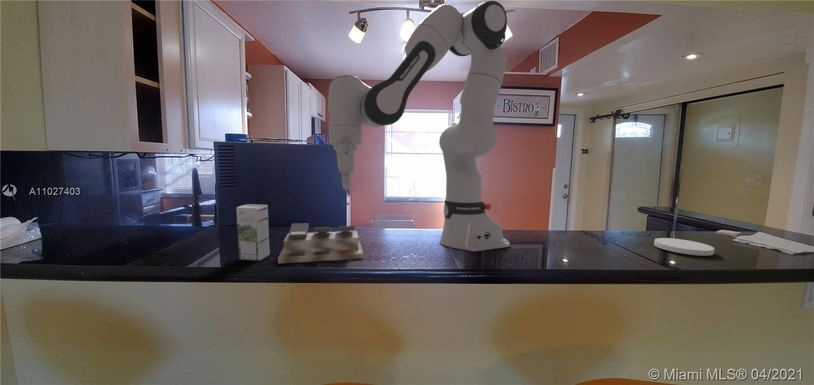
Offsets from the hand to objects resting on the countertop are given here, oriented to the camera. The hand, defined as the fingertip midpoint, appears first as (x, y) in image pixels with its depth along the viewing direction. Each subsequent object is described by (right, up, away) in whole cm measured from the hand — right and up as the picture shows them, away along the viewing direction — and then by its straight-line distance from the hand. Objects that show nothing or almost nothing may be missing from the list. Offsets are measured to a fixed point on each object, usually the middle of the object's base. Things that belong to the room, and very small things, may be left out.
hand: (345, 187), depth 85 cm
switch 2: (-1, -12, +4) cm, 13 cm away
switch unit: (-7, -19, +2) cm, 20 cm away
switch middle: (-7, -12, +3) cm, 14 cm away
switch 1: (-13, -12, +1) cm, 18 cm away
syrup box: (-24, -19, -2) cm, 31 cm away
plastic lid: (+104, -20, +11) cm, 107 cm away
